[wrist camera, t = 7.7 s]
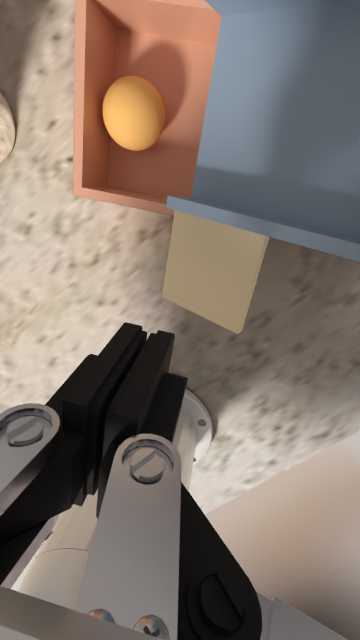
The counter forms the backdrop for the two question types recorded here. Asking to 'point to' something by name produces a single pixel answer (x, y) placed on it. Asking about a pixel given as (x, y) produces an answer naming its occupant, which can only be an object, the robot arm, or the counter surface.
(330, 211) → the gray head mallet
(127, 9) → the shallow terracotta crate
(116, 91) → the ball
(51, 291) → the counter surface
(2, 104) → the beer glass
